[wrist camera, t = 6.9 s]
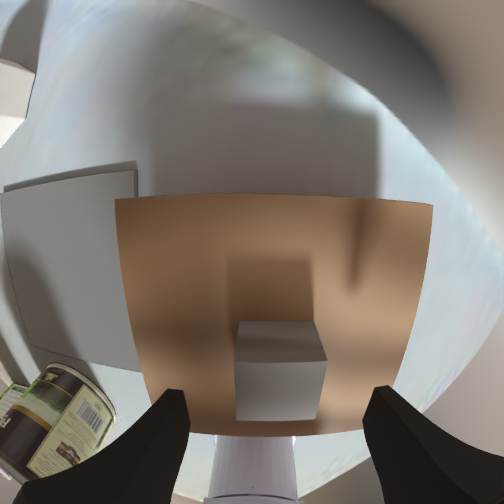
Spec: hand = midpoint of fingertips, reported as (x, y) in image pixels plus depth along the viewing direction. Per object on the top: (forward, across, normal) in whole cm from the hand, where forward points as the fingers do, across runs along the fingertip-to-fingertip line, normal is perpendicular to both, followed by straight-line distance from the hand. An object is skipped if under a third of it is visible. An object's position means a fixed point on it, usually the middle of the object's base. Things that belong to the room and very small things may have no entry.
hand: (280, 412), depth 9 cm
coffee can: (+10, +21, +14) cm, 27 cm away
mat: (+10, +17, -1) cm, 20 cm away
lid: (+5, 0, 0) cm, 5 cm away
